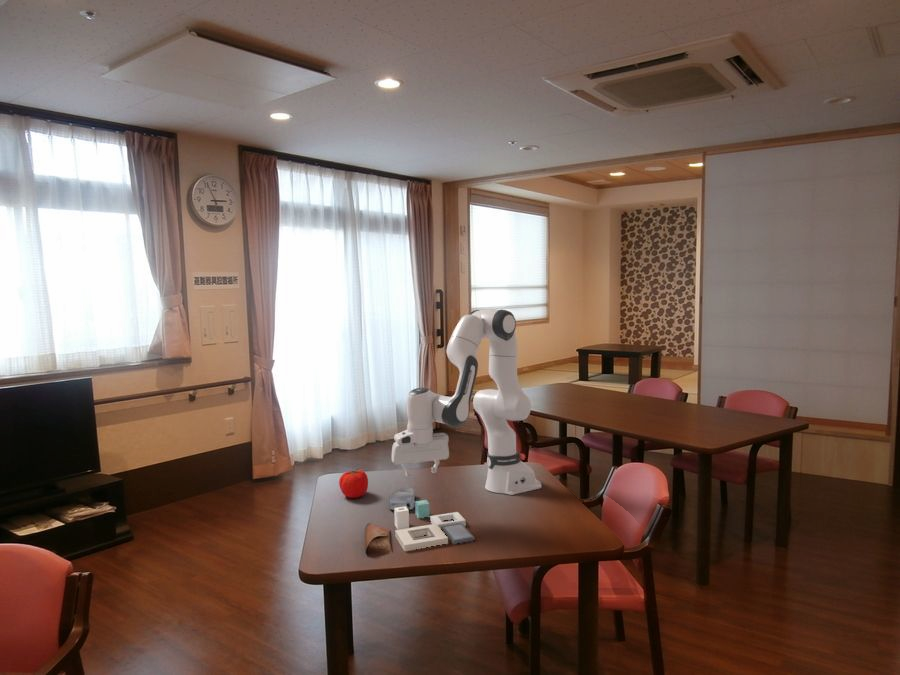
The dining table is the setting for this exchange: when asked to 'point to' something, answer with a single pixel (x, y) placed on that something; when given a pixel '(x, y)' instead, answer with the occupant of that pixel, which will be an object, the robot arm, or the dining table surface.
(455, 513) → the phone dock
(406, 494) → the handheld device
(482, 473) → the dining table surface
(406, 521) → the charger
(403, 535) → the outlet plate
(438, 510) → the dining table surface
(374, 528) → the sunglasses case
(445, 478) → the dining table surface
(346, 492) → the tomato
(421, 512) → the teal small block
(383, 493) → the dining table surface
